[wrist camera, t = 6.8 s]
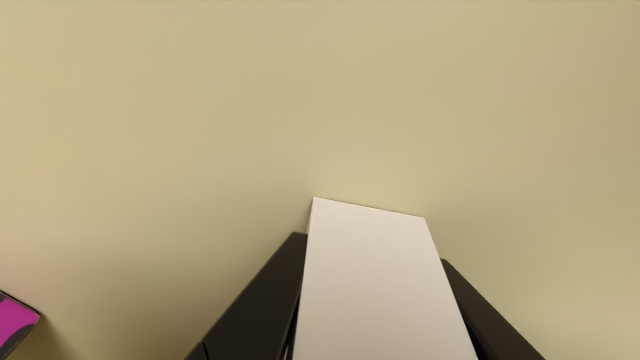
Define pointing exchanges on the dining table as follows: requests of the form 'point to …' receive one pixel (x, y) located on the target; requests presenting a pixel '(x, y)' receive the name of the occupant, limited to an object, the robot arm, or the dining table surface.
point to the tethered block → (374, 290)
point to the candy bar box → (14, 324)
